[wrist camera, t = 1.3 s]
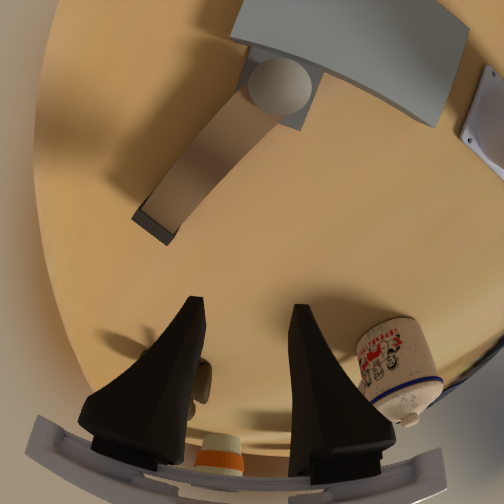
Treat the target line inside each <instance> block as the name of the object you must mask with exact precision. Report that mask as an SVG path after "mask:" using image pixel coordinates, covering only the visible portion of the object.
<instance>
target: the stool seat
mask: <svg viewBox="0 0 504 504" xmlns="http://www.w3.org/2000/svg"><path fill="white" fill-rule="evenodd" d="M468 33H469V28H468V27H467V26H466V25H465V24H464V23H463V22H462V21H460V20H459V19H458V18H457V17H456V16H455V15H453V14H452V13H451V12H450V11H448V10H447V9H446V8H445V7H443V6H442V5H441V4H439V3H438V2H437V1H435V0H244V2H243V4H242V6H241V9H240V11H239V14H238V16H237V19H236V21H235V24H234V26H233V29H232V32H231V34H230V38H231V39H232V40H233V41H234V42H235V43H238V44H242V45H246V46H250V47H251V49H250V52H249V55H248V57H247V60H246V63H245V66H244V68H243V71H242V74H241V77H240V80H239V83H238V86H237V89H236V92H237V91H238V90H239V89H240V88H241V87H242V86H243V85H244V84H245V83H246V82H247V81H248V80H249V78H250V75H251V73H252V71H253V70H254V68H255V67H256V66H257V65H259V64H260V63H261V62H263V61H265V60H268V59H271V58H287V59H290V60H293V61H295V62H297V63H298V64H300V65H301V66H302V67H303V68H304V69H305V70H306V72H307V73H308V75H309V77H310V80H311V85H312V90H311V95H310V98H309V100H308V102H307V103H306V104H305V105H304V106H303V108H301V109H300V110H298V111H297V112H295V113H292V114H289V115H286V116H285V117H284V118H283V119H282V120H281V121H280V122H279V123H280V124H282V125H285V126H288V127H291V128H294V129H296V130H299V131H301V128H302V126H303V123H304V121H305V118H306V116H307V113H308V111H309V108H310V106H311V103H312V101H313V98H314V96H315V93H316V91H317V88H318V86H319V83H320V81H321V78H322V76H323V73H324V72H326V73H328V74H331V75H333V76H335V77H337V78H340V79H342V80H344V81H346V82H348V83H350V84H352V85H354V86H356V87H358V88H360V89H362V90H364V91H366V92H368V93H370V94H372V95H374V96H376V97H378V98H379V99H381V100H383V101H385V102H386V103H388V104H390V105H392V106H393V107H395V108H397V109H398V110H400V111H402V112H403V113H405V114H406V115H408V116H409V117H411V118H413V119H414V120H416V121H417V122H420V123H422V124H425V125H427V126H430V127H432V128H434V129H435V127H436V124H437V122H438V120H439V117H440V115H441V113H442V110H443V108H444V105H445V103H446V100H447V98H448V95H449V92H450V90H451V87H452V84H453V82H454V79H455V76H456V73H457V70H458V67H459V64H460V61H461V58H462V54H463V51H464V48H465V44H466V41H467V37H468ZM236 92H235V93H236Z"/></svg>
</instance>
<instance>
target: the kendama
mask: <svg viewBox="0 0 504 504" xmlns="http://www.w3.org/2000/svg"><path fill="white" fill-rule="evenodd" d="M146 351H147V350H144V351H143V352H142V354H141V355H140V357H141V356H142V355H143V354H144V353H145V352H146ZM211 381H212V367H211V365H210V364H209V363H207V364H202V365H198V367H197V371H196V374H195V378H194V382H193V386H192V390H191V396H190V403H189V410H188V418H187V421H189V420H191V419H192V418H193V417H194V414H195V411H196V409H195V404H194V402H193V399H195V400H196V401H198V402H200V403H202V404H206V403H207V401H208V398H209V394H210V388H211Z"/></svg>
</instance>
